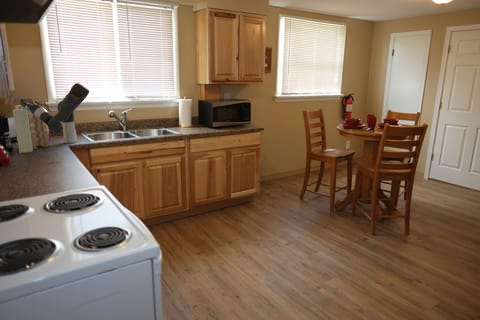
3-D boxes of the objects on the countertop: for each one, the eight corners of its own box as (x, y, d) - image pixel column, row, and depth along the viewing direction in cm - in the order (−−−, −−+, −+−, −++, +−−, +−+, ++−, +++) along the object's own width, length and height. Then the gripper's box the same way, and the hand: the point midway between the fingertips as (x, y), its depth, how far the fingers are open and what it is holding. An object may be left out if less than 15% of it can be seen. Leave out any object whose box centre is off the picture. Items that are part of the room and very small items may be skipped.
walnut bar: (5, 104, 232) (4, 98, 231) (11, 103, 236) (10, 98, 235) (27, 104, 222) (26, 98, 221) (33, 104, 225) (32, 98, 225)
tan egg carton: (20, 147, 251) (14, 105, 244) (36, 144, 262) (30, 104, 254) (34, 148, 245) (27, 106, 237) (49, 146, 255) (43, 105, 248)
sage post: (20, 150, 238) (13, 109, 231) (32, 149, 242) (26, 109, 235) (19, 152, 232) (12, 110, 224) (32, 151, 236) (26, 110, 228)
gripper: (51, 107, 226) (35, 94, 230) (30, 108, 213) (14, 95, 217) (48, 116, 229) (33, 103, 233) (28, 118, 216) (12, 104, 220)
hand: (24, 99), depth 225 cm, fingers closed on walnut bar, 4 cm apart
